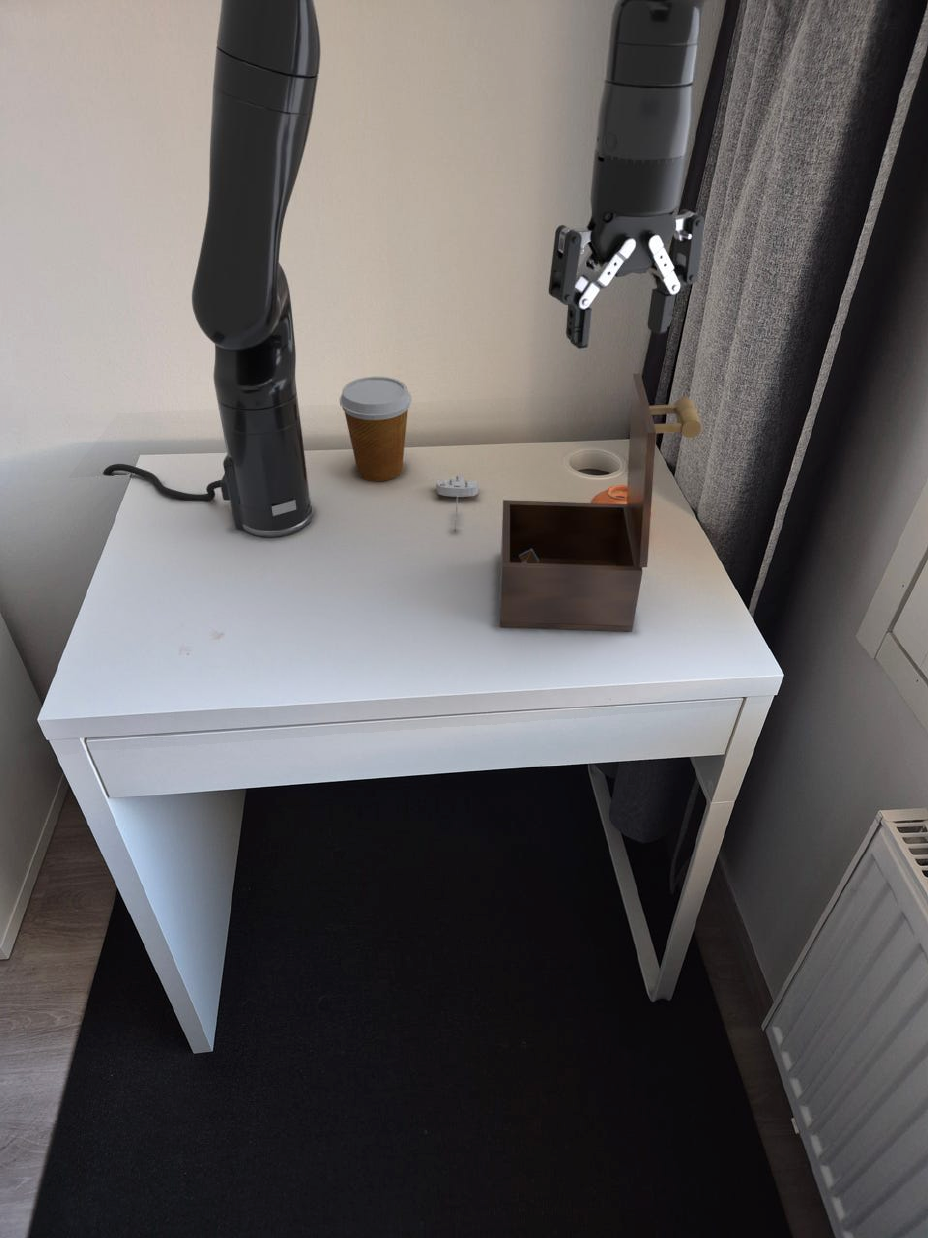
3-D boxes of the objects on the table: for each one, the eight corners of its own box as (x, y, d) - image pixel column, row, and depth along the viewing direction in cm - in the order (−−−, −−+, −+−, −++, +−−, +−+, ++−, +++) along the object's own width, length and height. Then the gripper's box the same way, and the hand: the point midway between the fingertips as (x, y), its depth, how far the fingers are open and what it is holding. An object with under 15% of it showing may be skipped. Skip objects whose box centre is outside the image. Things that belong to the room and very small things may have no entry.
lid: (647, 432, 80) (711, 429, 79) (632, 373, 90) (689, 370, 90) (639, 567, 90) (696, 565, 89) (626, 500, 100) (677, 498, 99)
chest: (499, 627, 96) (502, 566, 90) (500, 558, 106) (503, 499, 100) (632, 631, 95) (642, 570, 90) (620, 562, 105) (629, 503, 100)
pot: (606, 556, 106) (605, 503, 103) (579, 535, 112) (576, 485, 109) (664, 542, 108) (665, 490, 104) (634, 523, 114) (633, 474, 111)
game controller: (472, 481, 120) (473, 464, 118) (497, 526, 111) (498, 509, 110) (432, 486, 118) (432, 469, 117) (454, 532, 110) (454, 515, 108)
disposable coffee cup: (337, 461, 124) (329, 381, 116) (400, 448, 127) (396, 370, 119) (358, 493, 117) (351, 411, 109) (423, 479, 120) (421, 398, 112)
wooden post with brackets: (522, 608, 96) (502, 573, 95) (536, 586, 103) (518, 553, 102) (536, 602, 95) (516, 566, 95) (549, 579, 103) (531, 546, 102)
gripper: (686, 129, 76) (658, 314, 86) (542, 143, 71) (532, 335, 82) (740, 146, 71) (704, 340, 81) (589, 162, 66) (571, 365, 76)
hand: (617, 338), depth 81 cm, fingers open, 8 cm apart
